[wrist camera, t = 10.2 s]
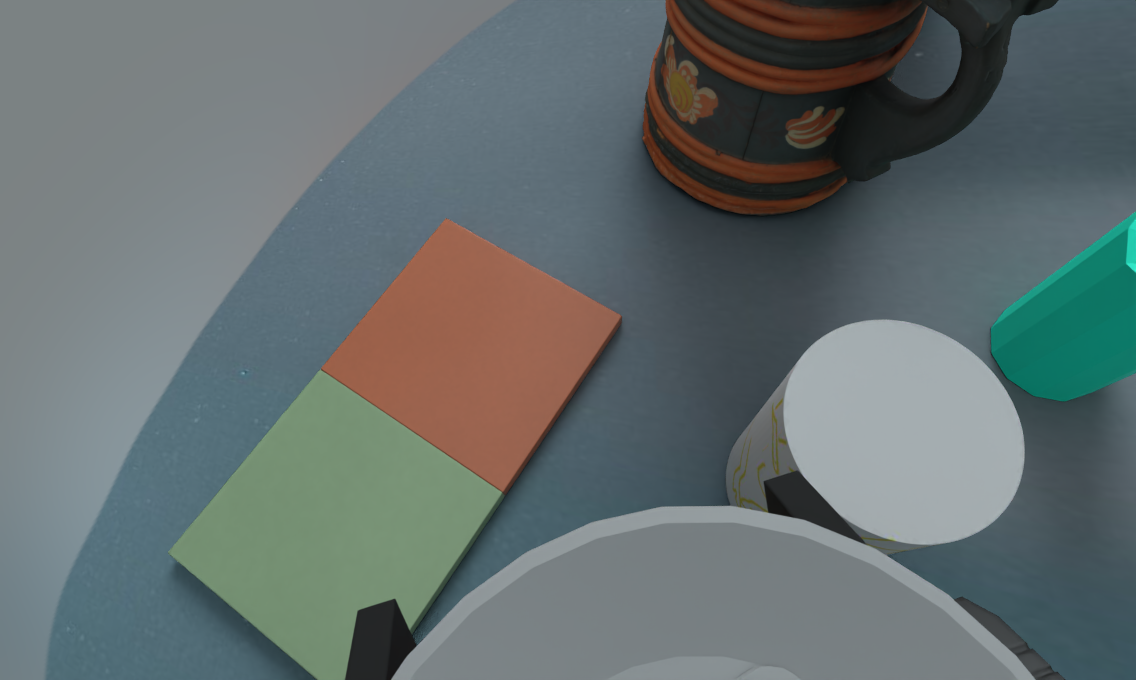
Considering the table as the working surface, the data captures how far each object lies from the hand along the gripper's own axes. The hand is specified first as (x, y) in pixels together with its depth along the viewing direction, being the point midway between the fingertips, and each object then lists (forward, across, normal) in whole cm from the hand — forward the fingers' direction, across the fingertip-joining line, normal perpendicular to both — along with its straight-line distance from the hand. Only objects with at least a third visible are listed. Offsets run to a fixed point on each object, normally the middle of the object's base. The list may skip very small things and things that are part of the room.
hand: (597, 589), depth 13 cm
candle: (+18, +28, -11) cm, 35 cm away
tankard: (+31, +20, +2) cm, 36 cm away
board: (+22, -7, -6) cm, 25 cm away
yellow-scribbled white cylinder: (+16, +12, -13) cm, 24 cm away
